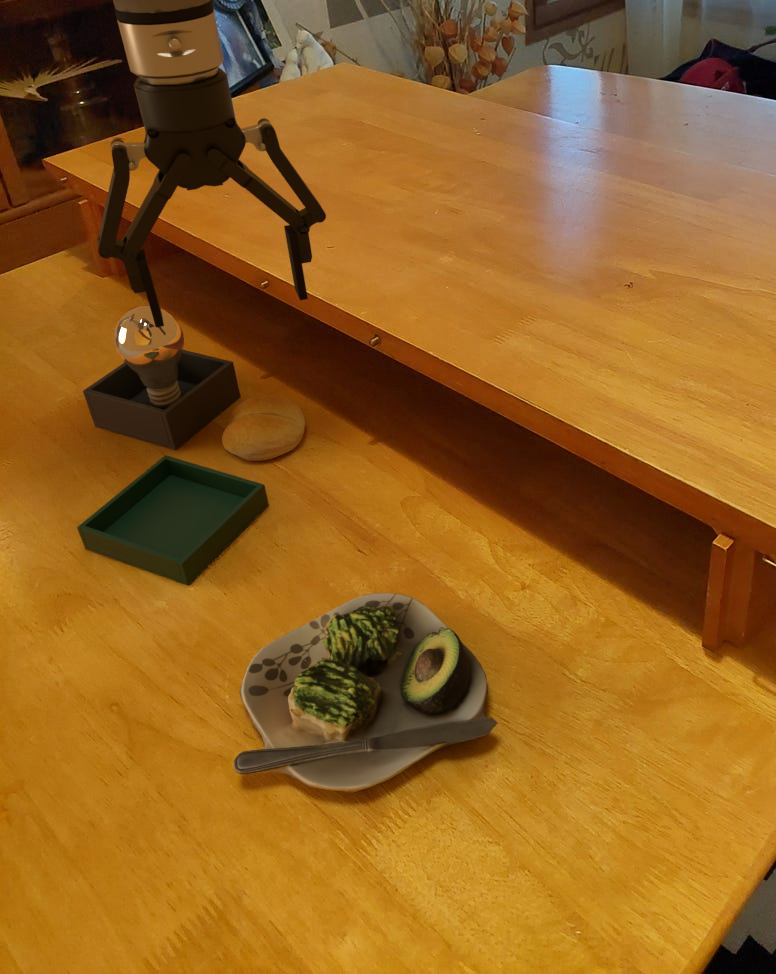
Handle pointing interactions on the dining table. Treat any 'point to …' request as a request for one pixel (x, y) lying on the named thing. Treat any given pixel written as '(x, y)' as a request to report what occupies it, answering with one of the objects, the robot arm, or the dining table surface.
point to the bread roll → (264, 428)
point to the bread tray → (174, 518)
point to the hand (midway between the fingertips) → (231, 307)
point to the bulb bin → (202, 399)
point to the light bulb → (151, 352)
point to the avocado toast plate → (362, 694)
